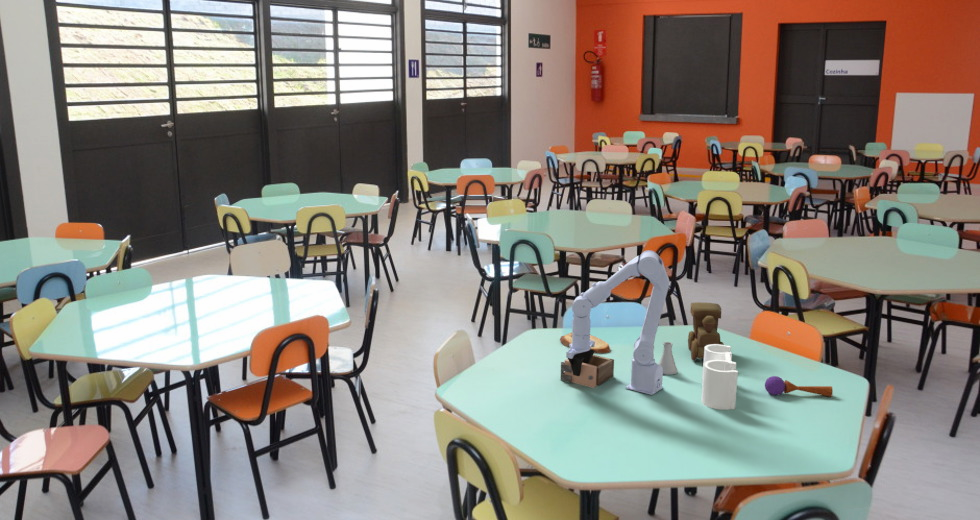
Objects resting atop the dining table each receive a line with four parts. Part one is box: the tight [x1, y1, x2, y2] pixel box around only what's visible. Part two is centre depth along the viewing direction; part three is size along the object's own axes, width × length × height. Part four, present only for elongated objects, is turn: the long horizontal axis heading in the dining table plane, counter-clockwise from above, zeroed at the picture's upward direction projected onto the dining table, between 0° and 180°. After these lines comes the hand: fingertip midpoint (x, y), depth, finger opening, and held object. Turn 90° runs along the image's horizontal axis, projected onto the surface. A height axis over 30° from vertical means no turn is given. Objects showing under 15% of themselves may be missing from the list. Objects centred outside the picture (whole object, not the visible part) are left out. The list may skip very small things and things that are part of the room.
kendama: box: [764, 375, 834, 398], centre depth 255 cm, size 6×6×20 cm
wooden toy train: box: [687, 302, 725, 361], centre depth 289 cm, size 20×11×17 cm, turn 172°
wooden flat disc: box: [559, 332, 612, 354], centre depth 301 cm, size 18×18×4 cm
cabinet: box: [560, 354, 615, 387], centre depth 269 cm, size 13×13×6 cm
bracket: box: [701, 344, 739, 410], centre depth 256 cm, size 25×10×12 cm, turn 168°
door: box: [564, 358, 597, 389], centre depth 264 cm, size 11×2×7 cm, turn 53°
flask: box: [657, 341, 678, 376], centre depth 274 cm, size 7×7×10 cm
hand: (580, 373), depth 265 cm, fingers open, 4 cm apart
